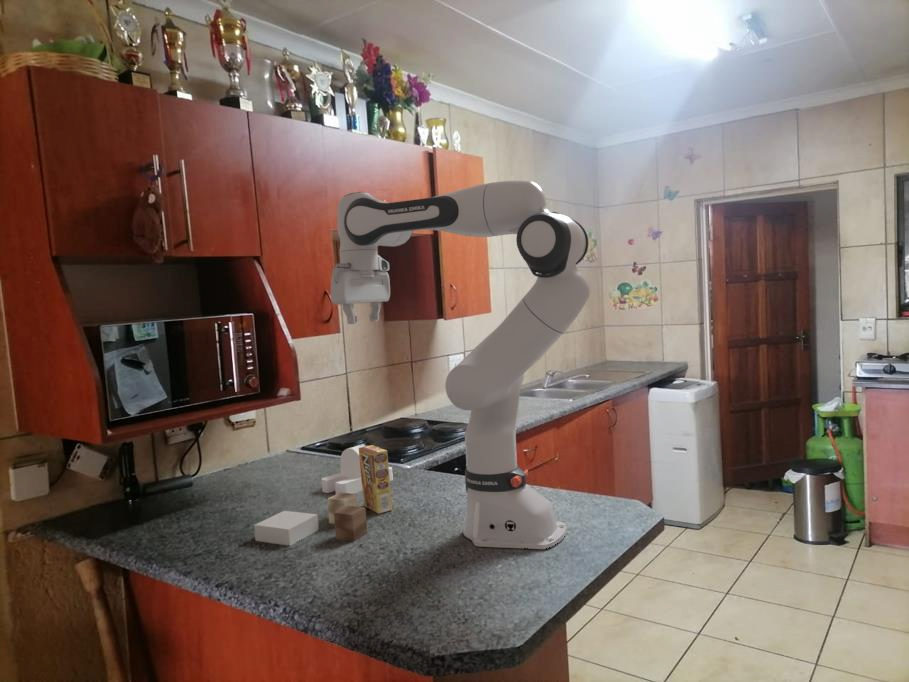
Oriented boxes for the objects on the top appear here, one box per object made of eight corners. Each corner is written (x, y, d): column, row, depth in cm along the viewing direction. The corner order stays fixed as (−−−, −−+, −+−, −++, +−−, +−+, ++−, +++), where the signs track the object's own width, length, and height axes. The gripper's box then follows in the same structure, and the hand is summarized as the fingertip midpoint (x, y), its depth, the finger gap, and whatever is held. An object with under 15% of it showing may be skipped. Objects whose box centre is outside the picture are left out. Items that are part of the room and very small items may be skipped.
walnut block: (367, 533, 146) (365, 507, 146) (354, 541, 142) (352, 514, 142) (349, 531, 149) (347, 505, 148) (335, 539, 144) (333, 512, 144)
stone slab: (319, 531, 151) (317, 514, 151) (290, 547, 142) (288, 529, 142) (285, 527, 155) (284, 510, 155) (255, 542, 146) (254, 524, 146)
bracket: (343, 498, 175) (340, 456, 174) (320, 492, 182) (317, 452, 181) (394, 480, 189) (392, 441, 188) (372, 475, 196) (369, 438, 195)
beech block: (358, 518, 157) (356, 494, 157) (346, 525, 153) (344, 500, 152) (341, 516, 159) (339, 492, 159) (329, 523, 155) (327, 498, 155)
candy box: (393, 510, 161) (388, 449, 160) (377, 514, 159) (373, 453, 158) (377, 502, 168) (372, 444, 167) (362, 506, 166) (357, 447, 165)
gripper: (345, 261, 141) (349, 325, 142) (392, 263, 160) (396, 319, 161) (321, 264, 144) (326, 326, 145) (371, 265, 162) (375, 320, 163)
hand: (363, 322), depth 153 cm, fingers open, 8 cm apart
